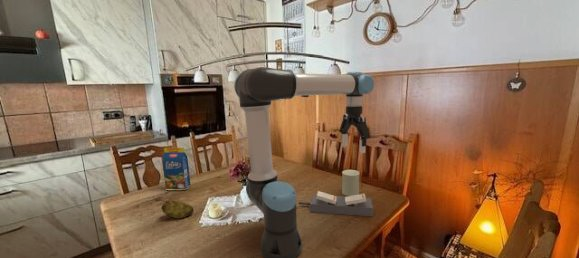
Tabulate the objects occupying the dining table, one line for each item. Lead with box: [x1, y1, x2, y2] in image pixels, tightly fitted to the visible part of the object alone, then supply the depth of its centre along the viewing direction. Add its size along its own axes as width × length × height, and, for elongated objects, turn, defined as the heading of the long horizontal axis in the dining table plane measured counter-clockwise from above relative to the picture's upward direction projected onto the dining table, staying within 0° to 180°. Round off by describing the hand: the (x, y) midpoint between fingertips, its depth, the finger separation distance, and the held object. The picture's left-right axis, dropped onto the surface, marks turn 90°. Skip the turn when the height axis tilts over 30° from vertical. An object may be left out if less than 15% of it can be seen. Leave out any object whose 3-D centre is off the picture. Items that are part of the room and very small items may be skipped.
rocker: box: [316, 190, 338, 204], centre depth 116 cm, size 9×5×2 cm, turn 79°
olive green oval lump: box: [161, 199, 194, 219], centre depth 115 cm, size 8×13×8 cm, turn 81°
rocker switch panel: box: [298, 194, 374, 217], centre depth 118 cm, size 34×10×5 cm, turn 79°
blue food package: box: [162, 147, 191, 190], centre depth 145 cm, size 6×12×25 cm, turn 86°
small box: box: [344, 193, 367, 205], centre depth 113 cm, size 9×5×2 cm, turn 78°
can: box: [341, 169, 360, 197], centre depth 134 cm, size 9×9×12 cm
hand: (353, 149), depth 120 cm, fingers open, 13 cm apart
